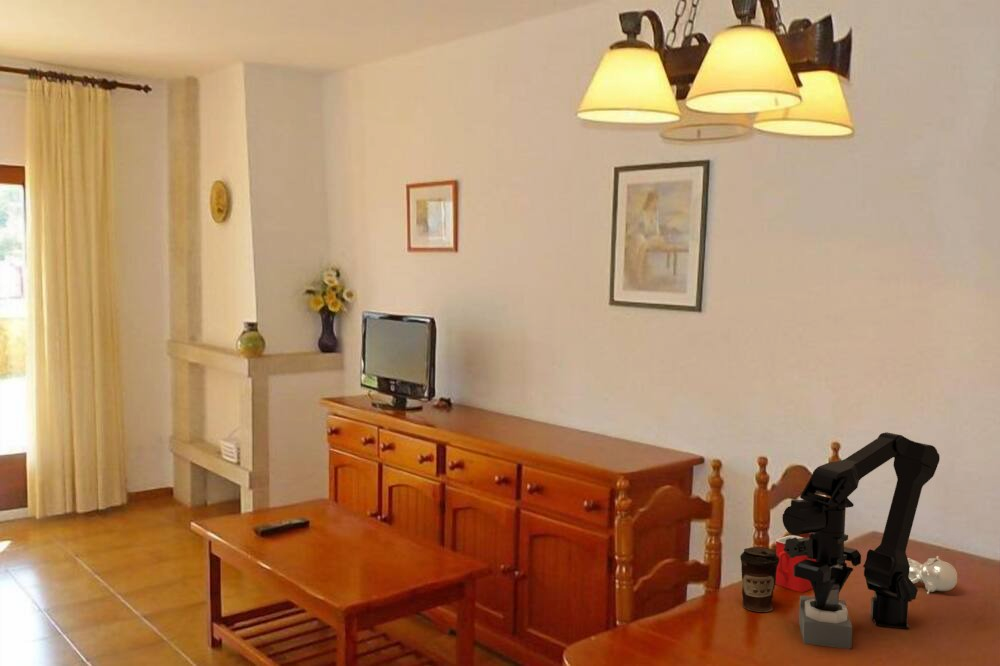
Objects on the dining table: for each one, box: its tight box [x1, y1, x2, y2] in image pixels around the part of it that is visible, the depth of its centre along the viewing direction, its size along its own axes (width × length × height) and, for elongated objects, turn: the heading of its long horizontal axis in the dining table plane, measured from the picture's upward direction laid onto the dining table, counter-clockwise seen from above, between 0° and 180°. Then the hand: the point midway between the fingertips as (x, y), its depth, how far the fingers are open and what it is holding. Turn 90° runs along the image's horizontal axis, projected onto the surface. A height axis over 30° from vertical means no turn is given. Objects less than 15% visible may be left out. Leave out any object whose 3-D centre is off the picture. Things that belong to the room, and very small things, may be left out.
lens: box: [814, 580, 840, 612], centre depth 181 cm, size 5×5×6 cm
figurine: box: [907, 555, 958, 595], centre depth 213 cm, size 11×7×15 cm
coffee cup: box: [739, 546, 780, 613], centre depth 197 cm, size 9×8×13 cm
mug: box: [775, 534, 817, 593], centre depth 211 cm, size 12×8×11 cm
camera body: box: [798, 595, 853, 650], centre depth 183 cm, size 9×12×6 cm
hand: (826, 604), depth 182 cm, fingers closed on lens, 5 cm apart
